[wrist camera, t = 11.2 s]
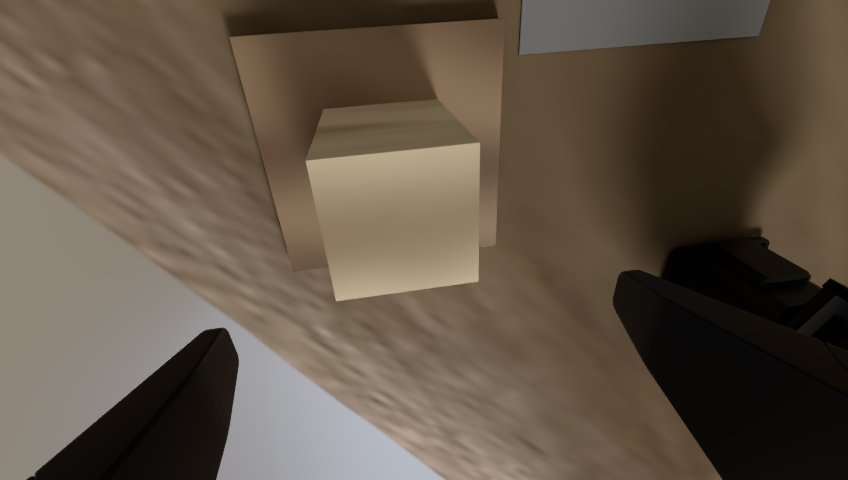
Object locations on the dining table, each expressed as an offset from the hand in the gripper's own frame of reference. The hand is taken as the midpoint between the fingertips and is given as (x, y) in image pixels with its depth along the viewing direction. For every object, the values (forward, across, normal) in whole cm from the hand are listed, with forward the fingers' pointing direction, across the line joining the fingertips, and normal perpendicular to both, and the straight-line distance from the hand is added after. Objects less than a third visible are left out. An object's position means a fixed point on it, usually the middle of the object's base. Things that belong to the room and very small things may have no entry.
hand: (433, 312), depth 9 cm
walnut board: (+12, 0, 0) cm, 12 cm away
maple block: (+11, 0, 0) cm, 11 cm away
